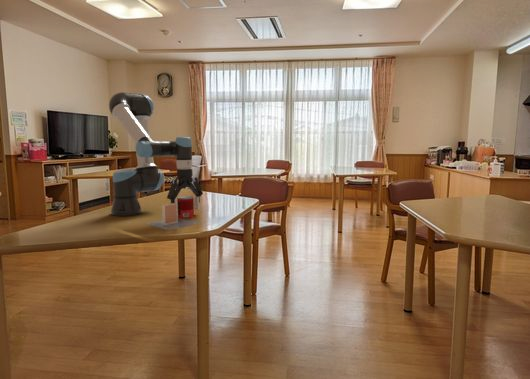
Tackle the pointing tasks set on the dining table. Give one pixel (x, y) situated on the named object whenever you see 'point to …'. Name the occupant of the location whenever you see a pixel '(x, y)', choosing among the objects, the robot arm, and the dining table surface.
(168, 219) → the tile
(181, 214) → the canned food
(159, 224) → the slate board
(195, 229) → the dining table surface
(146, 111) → the robot arm
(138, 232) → the dining table surface
